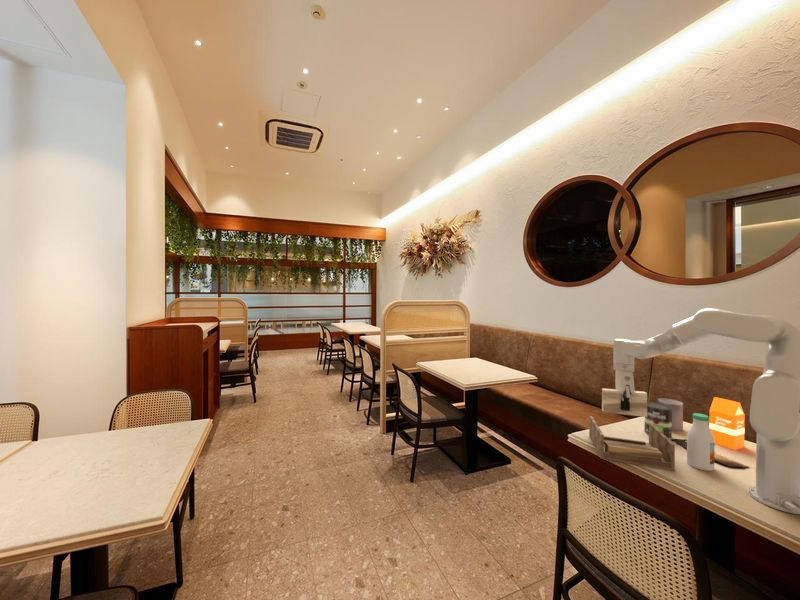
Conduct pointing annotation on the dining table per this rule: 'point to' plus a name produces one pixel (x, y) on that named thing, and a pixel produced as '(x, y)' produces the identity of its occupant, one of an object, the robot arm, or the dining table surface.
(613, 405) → the birch panel
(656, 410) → the coffee can
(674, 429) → the pillar candle
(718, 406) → the orange juice
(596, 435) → the rack
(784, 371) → the robot arm
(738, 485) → the dining table surface
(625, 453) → the offcut lower
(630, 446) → the offcut upper
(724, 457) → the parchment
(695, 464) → the milk bottle
